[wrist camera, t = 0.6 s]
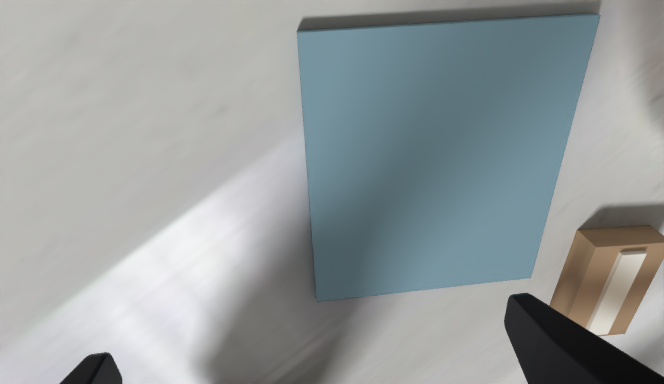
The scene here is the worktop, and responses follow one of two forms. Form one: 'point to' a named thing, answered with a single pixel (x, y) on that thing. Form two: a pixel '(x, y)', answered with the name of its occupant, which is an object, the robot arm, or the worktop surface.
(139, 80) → the worktop surface
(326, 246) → the mat
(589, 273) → the brown cardboard box
